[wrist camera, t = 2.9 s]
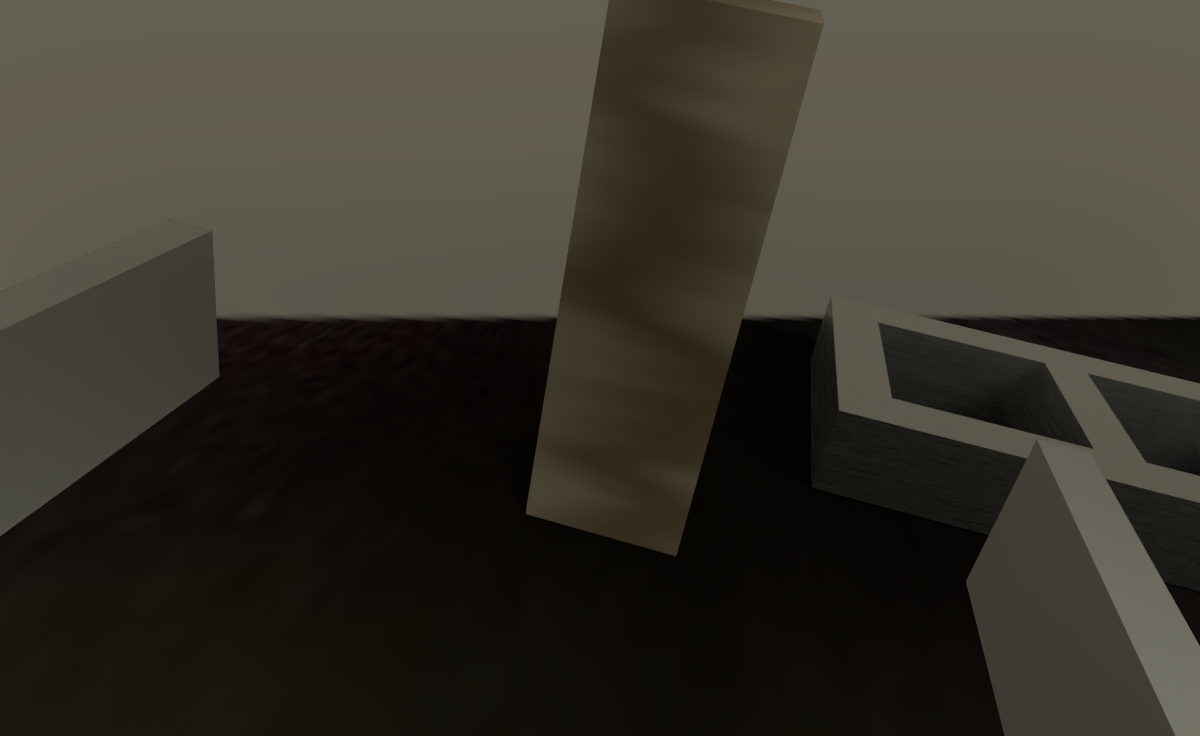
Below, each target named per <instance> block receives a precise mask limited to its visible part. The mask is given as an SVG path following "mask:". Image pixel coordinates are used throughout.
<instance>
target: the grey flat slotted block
mask: <svg viewBox="0 0 1200 736" xmlns="http://www.w3.org/2000/svg"><path fill="white" fill-rule="evenodd" d="M892 397H893V398H892ZM894 398H896V399H894ZM898 399H900V400H898ZM902 400H904V401H902ZM906 401H908V402H906ZM909 402H912V403H909ZM913 403H916V404H913ZM917 404H920V405H917ZM921 405H924V406H921ZM925 406H928V407H925ZM929 407H932V408H929ZM933 408H936V409H933ZM937 409H940V410H937ZM941 410H944V411H941ZM945 411H948V412H945ZM949 412H952V413H949ZM953 413H956V414H953ZM957 414H960V415H957ZM961 415H964V416H961ZM965 416H968V417H965ZM969 417H972V418H969ZM973 418H976V419H973ZM977 419H980V420H977ZM981 420H984V421H981ZM985 421H987V422H985ZM989 422H991V423H989ZM993 423H995V424H993ZM996 424H999V425H996ZM1000 425H1003V426H1000ZM1004 426H1007V427H1004ZM1008 427H1011V428H1008ZM1012 428H1014V429H1012ZM1037 439H1038V440H1042V441H1046V442H1050V443H1053V444H1057V445H1061V446H1065V447H1069V448H1073V449H1077V450H1081V451H1085V452H1089V453H1091V454H1092V456H1093V457H1094V459H1095V461H1096V463H1097V465H1098V466H1099V468H1100V470H1101V472H1102V473H1103V475H1104V477H1105V479H1106V481H1107V482H1108V484H1109V486H1110V488H1111V489H1112V491H1113V493H1114V495H1115V497H1116V498H1117V500H1118V502H1119V504H1120V505H1121V507H1122V509H1123V511H1124V513H1125V514H1126V516H1127V518H1128V520H1129V521H1130V523H1131V525H1132V527H1133V529H1134V530H1135V532H1136V534H1137V536H1138V537H1139V539H1140V541H1141V543H1142V545H1143V546H1144V548H1145V550H1146V552H1147V553H1148V555H1149V557H1150V559H1151V561H1152V562H1153V564H1154V566H1155V568H1156V569H1157V571H1158V573H1159V575H1160V577H1161V578H1162V580H1163V582H1165V583H1169V584H1172V585H1176V586H1180V587H1184V588H1187V589H1191V590H1195V591H1198V592H1200V476H1198V475H1200V384H1198V383H1194V382H1190V381H1186V380H1182V379H1178V378H1174V377H1169V376H1165V375H1161V374H1157V373H1153V372H1149V371H1145V370H1140V369H1136V368H1132V367H1128V366H1124V365H1120V364H1115V363H1111V362H1107V361H1103V360H1099V359H1095V358H1091V357H1086V356H1082V355H1078V354H1074V353H1070V352H1066V351H1062V350H1057V349H1053V348H1049V347H1045V346H1041V345H1037V344H1033V343H1028V342H1024V341H1020V340H1016V339H1012V338H1008V337H1004V336H999V335H995V334H991V333H987V332H983V331H979V330H974V329H970V328H966V327H962V326H958V325H954V324H950V323H945V322H941V321H937V320H933V319H929V318H925V317H921V316H916V315H912V314H908V313H903V312H900V311H896V310H891V309H887V308H883V307H879V306H875V305H871V304H866V303H862V302H858V301H854V300H850V299H846V298H842V297H837V296H833V295H831V298H830V301H829V304H828V307H827V310H826V313H825V316H824V319H823V322H822V325H821V328H820V331H819V334H818V337H817V340H816V343H815V347H814V350H813V353H812V356H811V488H814V489H818V490H821V491H825V492H829V493H833V494H836V495H840V496H844V497H848V498H851V499H855V500H859V501H862V502H866V503H870V504H874V505H877V506H881V507H885V508H889V509H892V510H896V511H900V512H904V513H907V514H911V515H915V516H918V517H922V518H926V519H930V520H933V521H937V522H941V523H945V524H948V525H952V526H956V527H960V528H963V529H967V530H971V531H974V532H978V533H982V534H986V535H989V534H990V532H991V530H992V528H993V526H994V524H995V522H996V520H997V518H998V516H999V514H1000V512H1001V510H1002V508H1003V506H1004V504H1005V502H1006V500H1007V498H1008V496H1009V494H1010V492H1011V490H1012V488H1013V486H1014V484H1015V482H1016V480H1017V478H1018V476H1019V474H1020V472H1021V470H1022V468H1023V466H1024V464H1025V462H1026V460H1027V458H1028V456H1029V454H1030V452H1031V450H1032V448H1033V446H1034V444H1035V442H1036V440H1037ZM1147 462H1150V463H1147ZM1151 463H1154V464H1151ZM1155 464H1158V465H1155ZM1159 465H1161V466H1159ZM1163 466H1165V467H1163ZM1166 467H1169V468H1166ZM1170 468H1173V469H1170ZM1174 469H1177V470H1174ZM1178 470H1181V471H1178ZM1182 471H1185V472H1182ZM1186 472H1189V473H1186ZM1190 473H1193V474H1190ZM1194 474H1197V475H1194Z"/></svg>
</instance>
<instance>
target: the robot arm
mask: <svg viewBox="0 0 1200 736" xmlns="http://www.w3.org/2000/svg"><path fill="white" fill-rule="evenodd" d="M218 377H219V363H218V342H217V321H216V302H215V280H214V261H213V239H212V230H208V229H204V228H200V227H196V226H193V225H188V224H185V223H181V222H177V221H173V220H167V221H165V222H163V223H160V224H158V225H156V226H153V227H151V228H148V229H146V230H144V231H141V232H139V233H137V234H134V235H132V236H130V237H127V238H125V239H123V240H121V241H118V242H115V243H113V244H111V245H109V246H106V247H104V248H102V249H99V250H97V251H94V252H92V253H90V254H87V255H85V256H83V257H80V258H78V259H75V260H73V261H71V262H69V263H66V264H64V265H61V266H59V267H57V268H54V269H52V270H50V271H47V272H45V273H43V274H40V275H38V276H35V277H33V278H31V279H28V280H26V281H24V282H21V283H19V284H17V285H14V286H12V287H9V288H7V289H5V290H2V291H0V536H1V535H2V534H4V533H5V532H7V531H8V530H9V529H11V528H12V527H13V526H15V525H16V524H18V523H19V522H20V521H22V520H23V519H24V518H26V517H27V516H29V515H30V514H31V513H33V512H34V511H35V510H37V509H38V508H40V507H41V506H42V505H44V504H45V503H46V502H48V501H49V500H51V499H52V498H53V497H55V496H56V495H57V494H59V493H60V492H62V491H63V490H64V489H66V488H67V487H68V486H70V485H71V484H73V483H74V482H75V481H77V480H78V479H79V478H81V477H82V476H83V475H85V474H86V473H88V472H89V471H90V470H92V469H93V468H94V467H96V466H97V465H99V464H100V463H101V462H103V461H104V460H105V459H107V458H108V457H110V456H111V455H112V454H114V453H115V452H116V451H118V450H119V449H121V448H122V447H123V446H125V445H126V444H127V443H129V442H130V441H132V440H133V439H134V438H136V437H137V436H138V435H140V434H141V433H143V432H144V431H145V430H147V429H148V428H149V427H151V426H152V425H154V424H155V423H156V422H158V421H159V420H160V419H162V418H163V417H165V416H166V415H167V414H169V413H170V412H171V411H173V410H174V409H176V408H177V407H178V406H180V405H181V404H182V403H184V402H185V401H187V400H188V399H189V398H191V397H192V396H193V395H195V394H196V393H198V392H199V391H200V390H202V389H203V388H204V387H206V386H207V385H209V384H210V383H211V382H213V381H214V380H215V379H217V378H218ZM966 584H967V588H968V592H969V596H970V600H971V604H972V608H973V612H974V616H975V620H976V624H977V628H978V632H979V636H980V640H981V644H982V648H983V652H984V655H985V659H986V663H987V667H988V671H989V675H990V679H991V683H992V687H993V691H994V695H995V699H996V703H997V707H998V711H999V715H1000V719H1001V723H1002V727H1003V731H1004V735H1005V736H1200V646H1199V644H1198V642H1197V640H1196V639H1195V637H1194V635H1193V633H1192V632H1191V630H1190V628H1189V626H1188V624H1187V623H1186V621H1185V619H1184V617H1183V616H1182V614H1181V612H1180V610H1179V608H1178V607H1177V605H1176V603H1175V601H1174V600H1173V598H1172V596H1171V594H1170V592H1169V591H1168V589H1167V587H1166V585H1165V584H1164V582H1163V580H1162V578H1161V577H1160V575H1159V573H1158V571H1157V569H1156V568H1155V566H1154V564H1153V562H1152V561H1151V559H1150V557H1149V555H1148V553H1147V552H1146V550H1145V548H1144V546H1143V545H1142V543H1141V541H1140V539H1139V537H1138V536H1137V534H1136V532H1135V530H1134V529H1133V527H1132V525H1131V523H1130V521H1129V520H1128V518H1127V516H1126V514H1125V513H1124V511H1123V509H1122V507H1121V505H1120V504H1119V502H1118V500H1117V498H1116V497H1115V495H1114V493H1113V491H1112V489H1111V488H1110V486H1109V484H1108V482H1107V481H1106V479H1105V477H1104V475H1103V473H1102V472H1101V470H1100V468H1099V466H1098V465H1097V463H1096V461H1095V459H1094V457H1093V456H1092V454H1091V453H1089V452H1085V451H1081V450H1077V449H1073V448H1069V447H1065V446H1061V445H1057V444H1053V443H1050V442H1046V441H1042V440H1038V439H1037V440H1036V442H1035V444H1034V446H1033V448H1032V450H1031V452H1030V454H1029V456H1028V458H1027V460H1026V462H1025V464H1024V466H1023V468H1022V470H1021V472H1020V474H1019V476H1018V478H1017V480H1016V482H1015V484H1014V486H1013V488H1012V490H1011V492H1010V494H1009V496H1008V498H1007V500H1006V502H1005V504H1004V506H1003V508H1002V510H1001V512H1000V514H999V516H998V518H997V520H996V522H995V524H994V526H993V528H992V530H991V532H990V534H989V536H988V538H987V540H986V542H985V544H984V546H983V548H982V550H981V552H980V554H979V556H978V558H977V560H976V562H975V564H974V566H973V568H972V570H971V572H970V574H969V576H968V578H967V580H966Z"/></svg>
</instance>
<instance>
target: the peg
mask: <svg viewBox="0 0 1200 736" xmlns="http://www.w3.org/2000/svg"><path fill="white" fill-rule="evenodd" d="M822 28H823V19H822V14H821V10H818V9H813V8H808V7H803V6H798V5H793V4H788V3H783V2H778V1H773V0H609V3H608V10H607V15H606V21H605V27H604V34H603V40H602V46H601V52H600V58H599V64H598V70H597V77H596V83H595V90H594V95H593V101H592V108H591V114H590V121H589V126H588V132H587V138H586V144H585V151H584V157H583V163H582V170H581V175H580V181H579V188H578V194H577V200H576V206H575V212H574V219H573V225H572V231H571V237H570V243H569V250H568V255H567V262H566V268H565V274H564V280H563V286H562V293H561V299H560V305H559V311H558V317H557V323H556V329H555V336H554V342H553V348H552V354H551V360H550V366H549V373H548V379H547V385H546V391H545V397H544V403H543V410H542V416H541V422H540V428H539V434H538V440H537V446H536V453H535V459H534V465H533V471H532V477H531V483H530V490H529V496H528V502H527V508H526V514H528V515H531V516H535V517H538V518H542V519H546V520H549V521H553V522H556V523H560V524H563V525H567V526H570V527H574V528H577V529H581V530H585V531H588V532H592V533H595V534H599V535H602V536H606V537H609V538H613V539H616V540H620V541H624V542H627V543H631V544H634V545H638V546H641V547H645V548H648V549H652V550H655V551H659V552H663V553H666V554H670V555H673V556H676V555H677V552H678V548H679V544H680V541H681V537H682V534H683V530H684V526H685V523H686V519H687V516H688V512H689V508H690V505H691V501H692V498H693V494H694V490H695V487H696V483H697V479H698V476H699V472H700V469H701V465H702V461H703V458H704V454H705V451H706V447H707V443H708V440H709V436H710V433H711V429H712V425H713V422H714V418H715V414H716V411H717V407H718V404H719V400H720V396H721V393H722V389H723V386H724V382H725V378H726V375H727V371H728V367H729V364H730V360H731V357H732V353H733V349H734V346H735V342H736V339H737V335H738V331H739V328H740V324H741V321H742V317H743V313H744V309H745V306H746V302H747V298H748V295H749V292H750V288H751V284H752V281H753V277H754V273H755V270H756V266H757V263H758V259H759V255H760V251H761V248H762V244H763V241H764V237H765V233H766V230H767V226H768V223H769V219H770V216H771V212H772V209H773V205H774V201H775V198H776V194H777V190H778V187H779V183H780V179H781V176H782V172H783V168H784V165H785V161H786V158H787V154H788V151H789V147H790V143H791V140H792V136H793V133H794V129H795V125H796V122H797V118H798V115H799V110H800V107H801V104H802V100H803V96H804V92H805V89H806V86H807V82H808V78H809V75H810V71H811V68H812V64H813V60H814V57H815V53H816V50H817V46H818V42H819V39H820V35H821V32H822Z"/></svg>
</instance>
